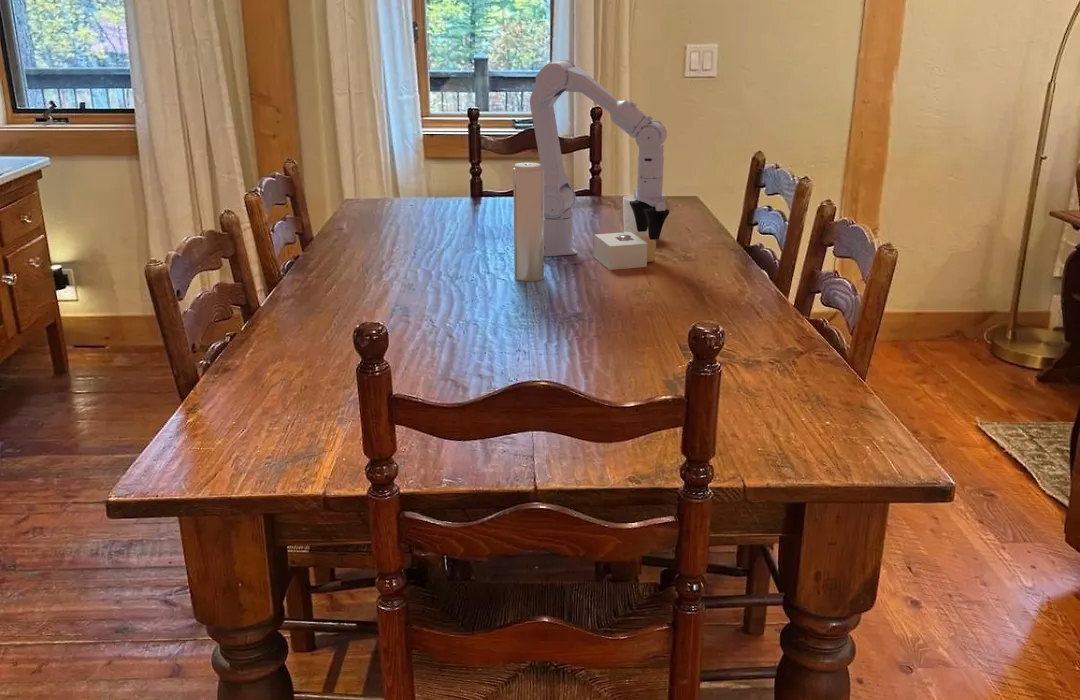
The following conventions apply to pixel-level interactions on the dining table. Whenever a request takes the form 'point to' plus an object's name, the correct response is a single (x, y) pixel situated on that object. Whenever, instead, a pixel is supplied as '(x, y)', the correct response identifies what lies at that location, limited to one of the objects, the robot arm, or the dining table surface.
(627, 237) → the plunger
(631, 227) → the white cup
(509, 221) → the dining table surface
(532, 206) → the white tall cylinder
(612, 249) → the housing
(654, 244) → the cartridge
